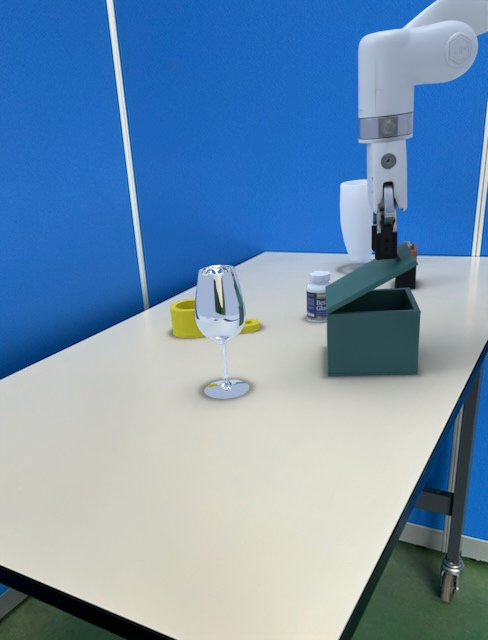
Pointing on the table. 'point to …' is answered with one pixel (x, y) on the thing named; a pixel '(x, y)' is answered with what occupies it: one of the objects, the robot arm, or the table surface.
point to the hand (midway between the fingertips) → (383, 253)
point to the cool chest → (374, 335)
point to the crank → (186, 320)
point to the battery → (408, 272)
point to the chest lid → (368, 278)
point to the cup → (356, 219)
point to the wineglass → (220, 319)
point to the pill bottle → (317, 296)
